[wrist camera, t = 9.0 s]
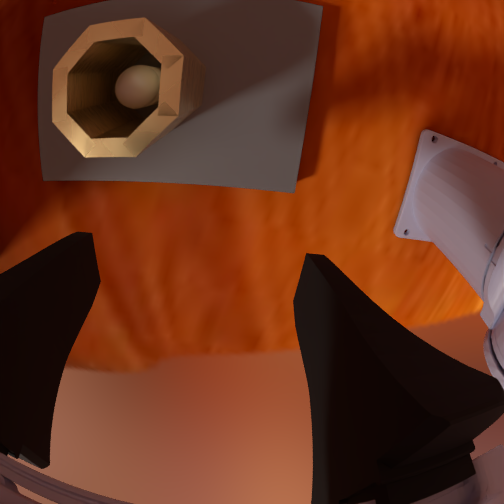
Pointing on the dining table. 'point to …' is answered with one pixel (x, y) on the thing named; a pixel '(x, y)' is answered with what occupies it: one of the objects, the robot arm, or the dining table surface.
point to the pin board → (214, 93)
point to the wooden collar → (104, 80)
